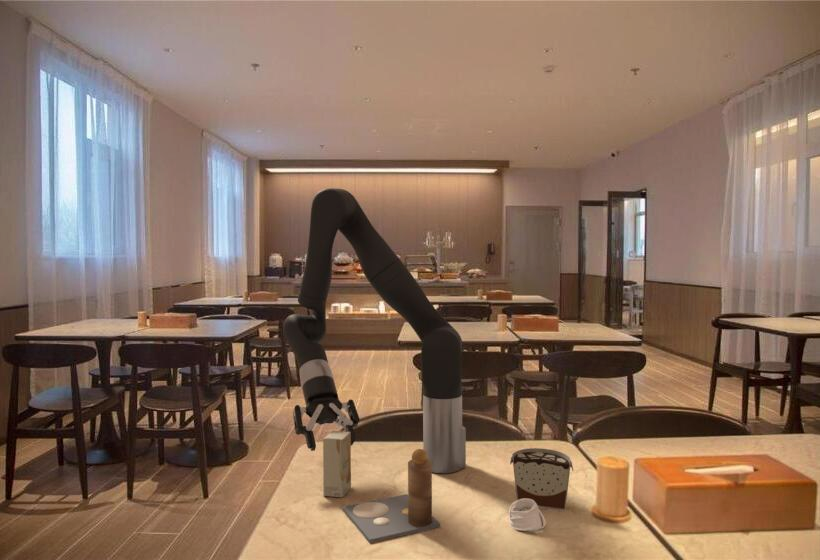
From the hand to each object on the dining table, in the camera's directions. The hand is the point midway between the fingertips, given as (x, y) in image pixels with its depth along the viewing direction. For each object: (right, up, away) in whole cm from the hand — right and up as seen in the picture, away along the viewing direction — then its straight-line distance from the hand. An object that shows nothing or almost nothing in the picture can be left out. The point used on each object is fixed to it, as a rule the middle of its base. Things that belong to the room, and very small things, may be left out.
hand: (333, 446), depth 125 cm
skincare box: (+1, -9, -2) cm, 10 cm away
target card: (+13, -9, -15) cm, 22 cm away
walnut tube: (+19, -9, -18) cm, 27 cm away
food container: (+44, -9, -8) cm, 45 cm away
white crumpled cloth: (+38, -10, -18) cm, 43 cm away
